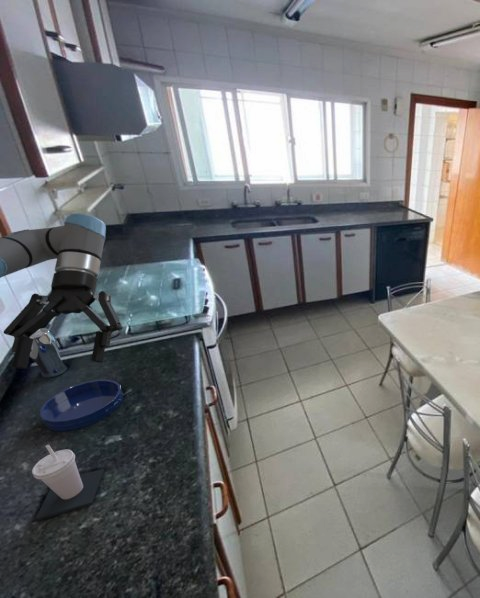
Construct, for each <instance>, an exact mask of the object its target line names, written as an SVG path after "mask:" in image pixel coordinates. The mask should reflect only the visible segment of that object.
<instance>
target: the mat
mask: <svg viewBox="0 0 480 598" xmlns="http://www.w3.org/2000/svg"><path fill="white" fill-rule="evenodd" d="M104 473H105V469H104V468H101V469H98V470H93V471H89V472H86V473H82V474H79V475H80V478H81V481H82V484H83V489H82V490H81V491H80V492H79V493H78V494H77V495H76V496H74V497H72V498H70V499H62V498H61V497H59V496H58V495H57V494H56V493H55V492H54V491H53V490H52V489H50V488H49V490H48V493H47V495H46V497H44V500H43V502H42V505H41V507H40V508H39V510H38V512H37V514H36V516H35V521H36V522H39V521H42V520H46V519H48V518H53V517H56V516H60V515H62V514H66V513H69V512H73V511H76V510H79V509H82V508H86V507H89V506H92V505H93V504H94V501H95V498H96V495H97V493H98V490H99V487H100V484H101V482H102V479H103V477H104Z"/></svg>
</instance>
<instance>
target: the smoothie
mask: <svg viewBox="0 0 480 598" xmlns="http://www.w3.org/2000/svg"><path fill="white" fill-rule="evenodd" d="M45 448H46V450H47V451H48V453H49V454H47V455H45V456H44V457H43V458H41V459H40V460H39V461H38V462H36V464H35V465H33V467H32V469H31V473H32V476H33V478H35V479H36V480H40V481H41V482H42V483H43V484H45V485H46V486H47V487H48V488H49V490H50V489H52V490H53V491H54V492H55V493H56V494H57V495H58V496H59V497H61V498H62V499H70V498H72V497H74V496H76V495H77V494H78V493H79V492H80V491H81V490H82V489H83V484H82V481H81V478H80V475H81V474H80V472H79V469H78V466H77V463H76V460H75V459H76V454H75V453H74V452H73V451H72V450H71V449H61V450H56V451H54V450H53V448H52V447H51V446H50V444H46V445H45Z"/></svg>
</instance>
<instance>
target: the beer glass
mask: <svg viewBox="0 0 480 598" xmlns="http://www.w3.org/2000/svg"><path fill="white" fill-rule="evenodd" d="M29 338H31V339H33V343H32V348H31V352H30V357H29V359H31V361H33V362H34V363H35V364H36V365H37V366H38V368H39V369H40V373H41V377H42V378H44V379H52V378H55V377H58V376H60V375H62V374H65V372H67V371H68V366H67V364H65V363H64V361H63V360H62V357H61V354H60V349H59V346H58V343H57V341H56V339H55V337H54V335H53V334H52V333H51V331H50V329H48V328H46V327H45V328H43V327H41V328H40V329H39V330H38V331H37V332H35V333H34V334H33V335H32V336H30V337H29Z"/></svg>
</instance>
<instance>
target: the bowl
mask: <svg viewBox="0 0 480 598" xmlns="http://www.w3.org/2000/svg"><path fill="white" fill-rule="evenodd" d="M123 400H124V391H123V389H122V386H121V384H120V383H119V382H117V381H116V380H112V379H95V380H90V381H84V382H82V383H78V384H74V385H73V386H70V387H67V388H65V389H63V390H61V391H60V392H58V393H56V394H55V395H53V396H51V397H50V398H49V399H48V400H46V401H45V402H44V403H43V404H42V406H41V407H40V409H39V417H40V419H41V421H42V423H43V425H44V426H45V427H46V428H47V429H49V430H51V431H54V432H68V431H74V430H79V429H83V428H87V427H88V426H92V425H93V424H95V423H97V422H99V421H101V420H103V419H105V418H106V417H108V416H109V415H110V414H112V413H113V412H115V410H117V409H118V407H120V406H121V404H122V402H123Z"/></svg>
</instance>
